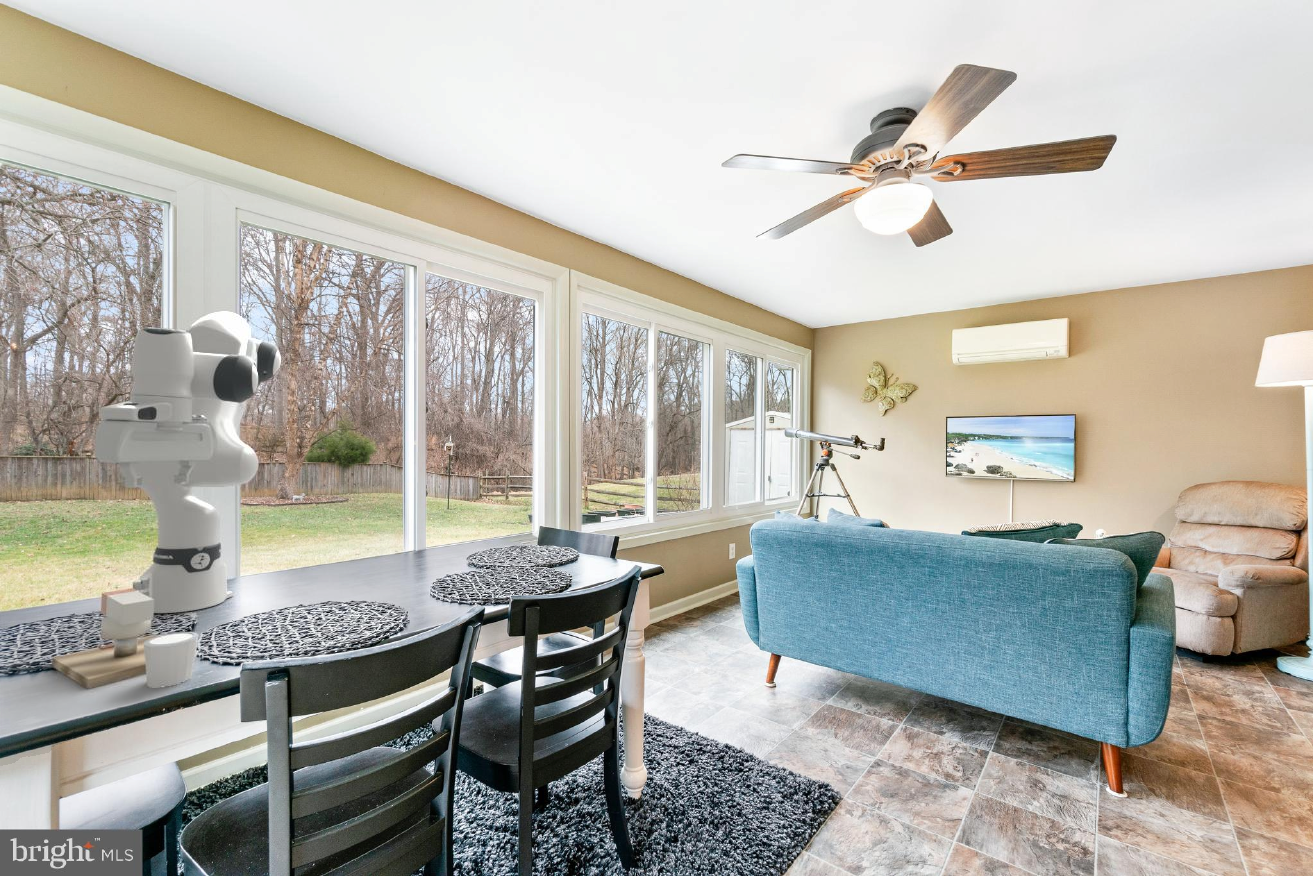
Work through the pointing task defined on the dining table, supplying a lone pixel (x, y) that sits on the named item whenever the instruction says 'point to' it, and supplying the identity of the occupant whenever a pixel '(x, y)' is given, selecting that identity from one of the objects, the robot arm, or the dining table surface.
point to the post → (125, 647)
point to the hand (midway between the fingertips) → (158, 485)
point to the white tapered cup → (170, 658)
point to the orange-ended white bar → (125, 614)
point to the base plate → (101, 664)
